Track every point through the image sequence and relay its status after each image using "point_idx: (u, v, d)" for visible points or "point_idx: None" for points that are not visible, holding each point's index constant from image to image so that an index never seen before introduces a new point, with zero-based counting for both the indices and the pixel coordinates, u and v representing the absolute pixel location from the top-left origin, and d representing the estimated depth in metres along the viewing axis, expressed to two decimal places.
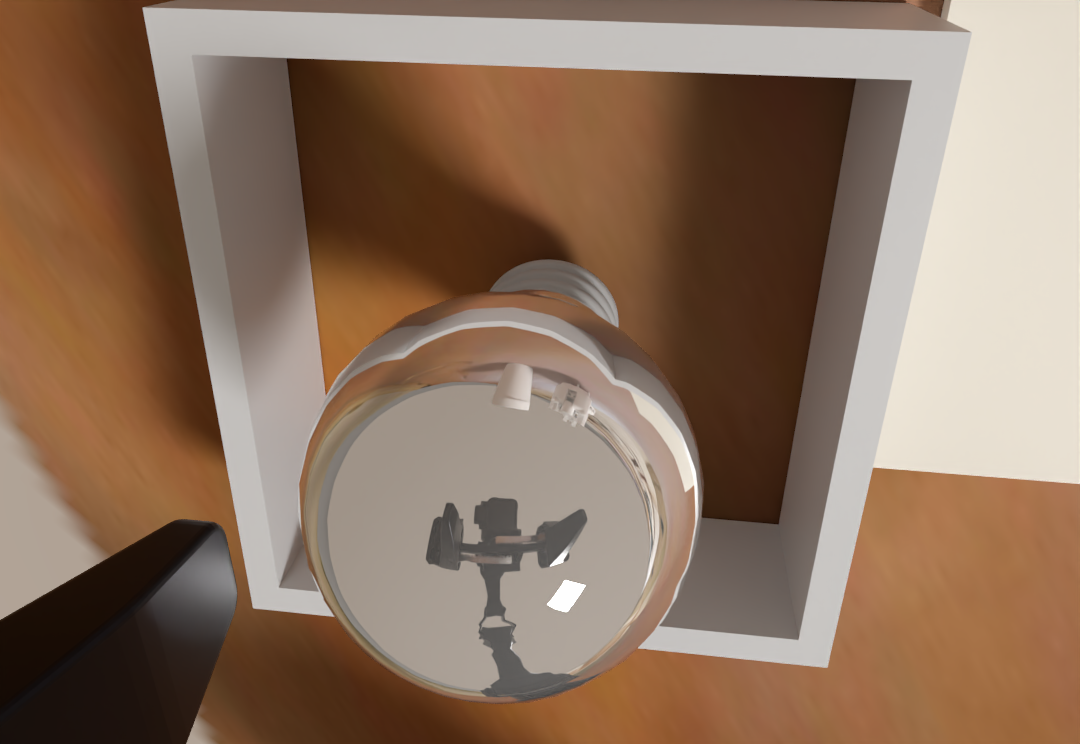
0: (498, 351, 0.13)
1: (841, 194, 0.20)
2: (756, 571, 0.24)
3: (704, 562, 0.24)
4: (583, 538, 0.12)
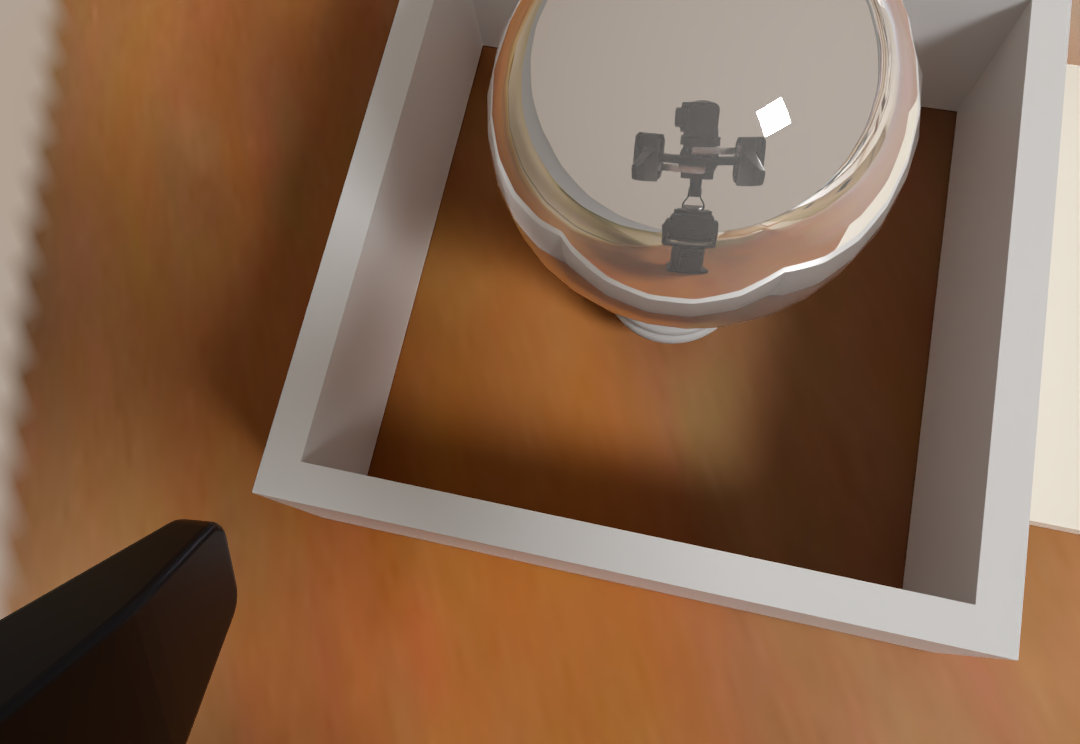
0: None
1: (952, 211, 0.22)
2: None
3: None
4: None
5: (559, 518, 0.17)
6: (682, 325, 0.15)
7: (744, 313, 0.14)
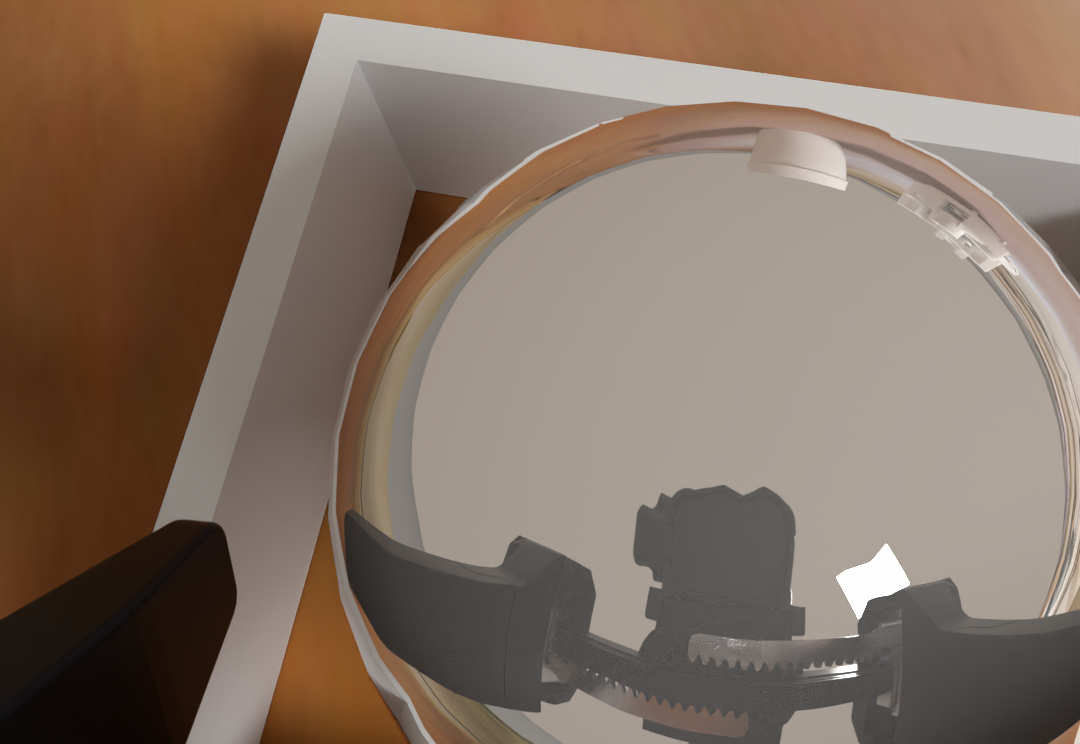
0: None
1: None
2: None
3: None
4: (1027, 269, 0.06)
5: None
6: None
7: None
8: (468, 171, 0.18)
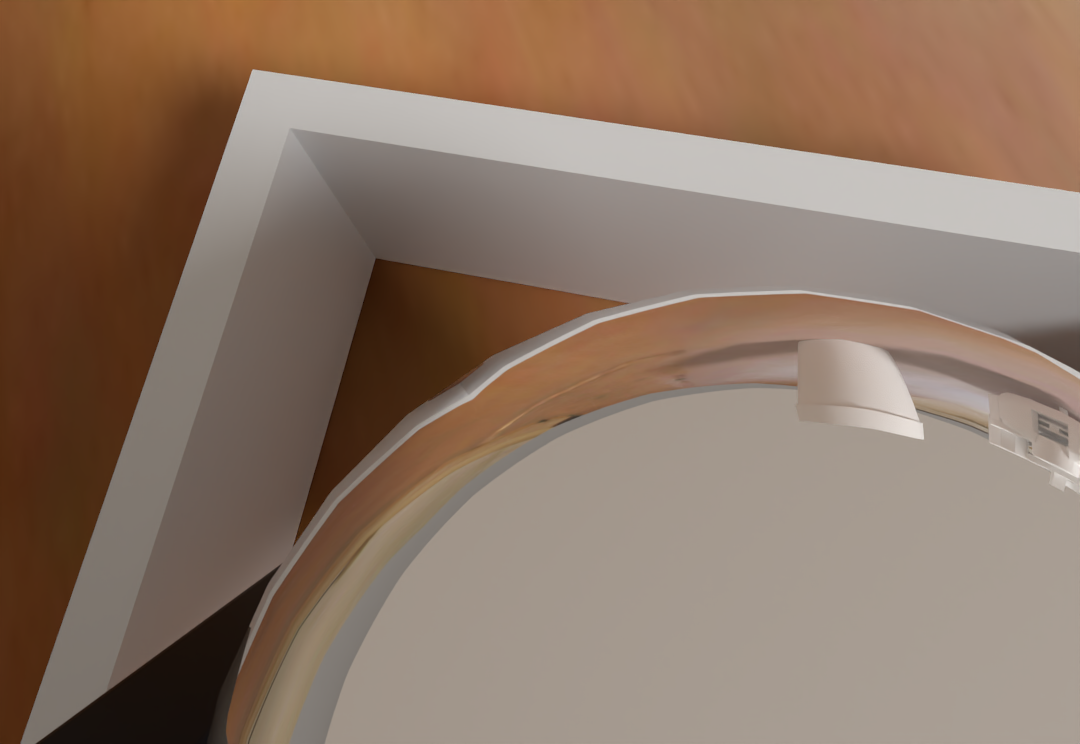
0: None
1: None
2: None
3: None
4: None
5: None
6: None
7: None
8: (433, 243, 0.15)
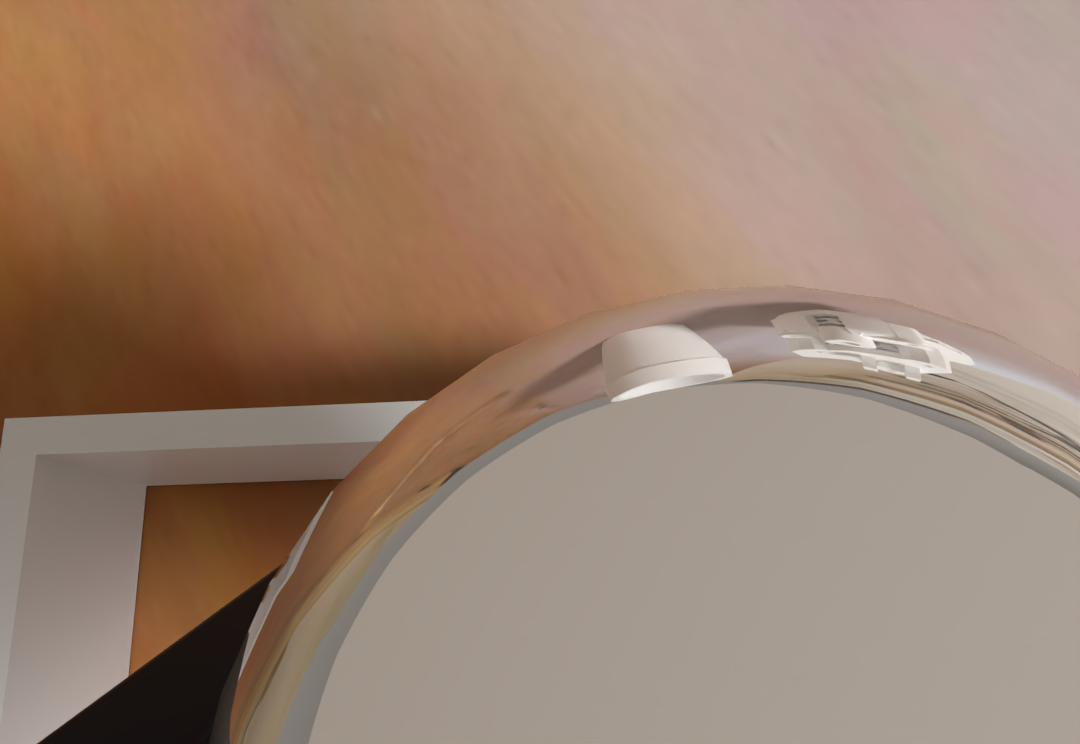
0: None
1: None
2: None
3: None
4: None
5: None
6: None
7: None
8: (175, 476, 0.22)
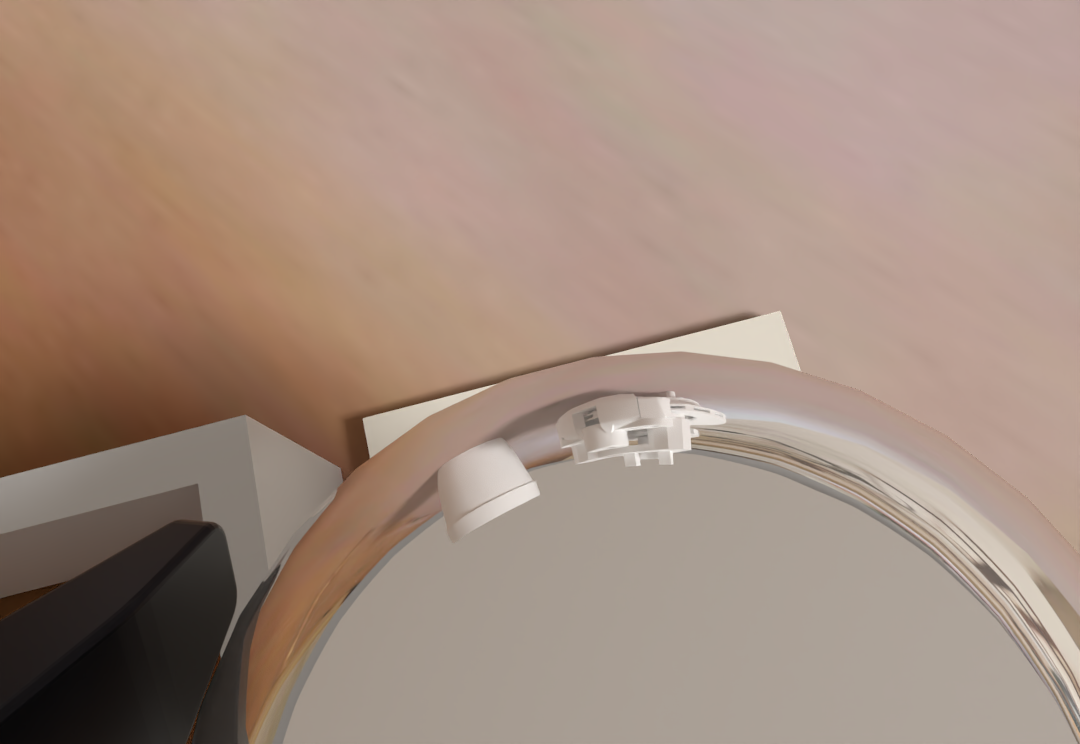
0: None
1: None
2: None
3: None
4: (1077, 694, 0.04)
5: None
6: None
7: None
8: None
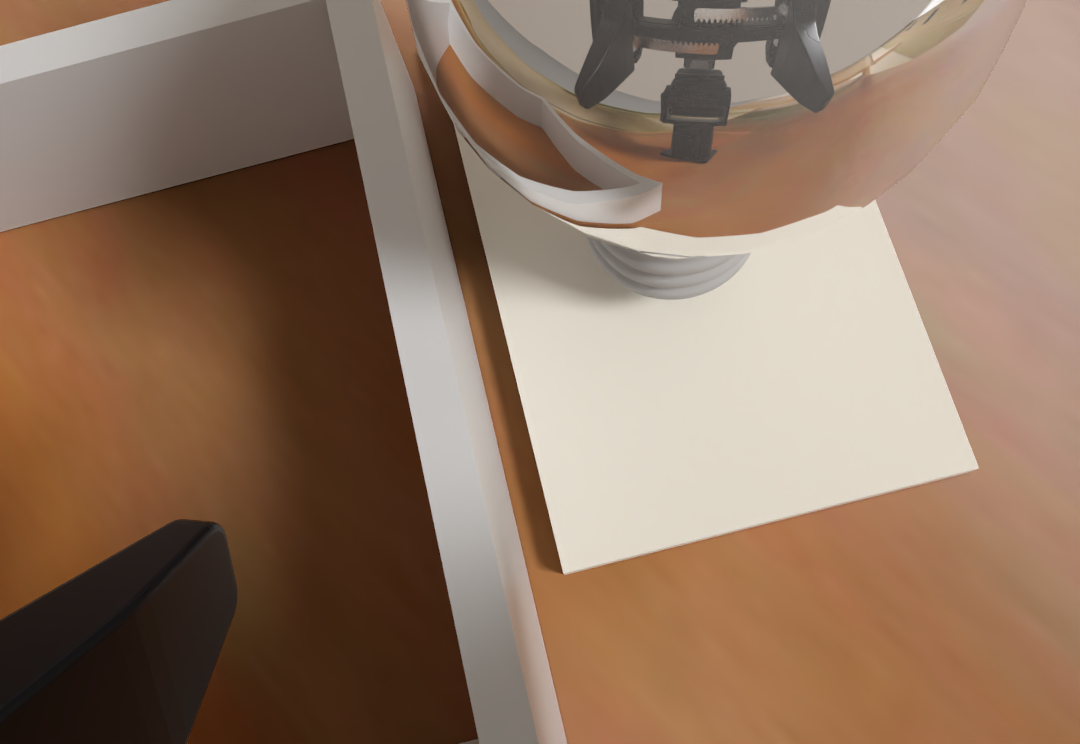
0: None
1: None
2: None
3: None
4: None
5: None
6: (687, 247, 0.10)
7: (779, 223, 0.09)
8: None
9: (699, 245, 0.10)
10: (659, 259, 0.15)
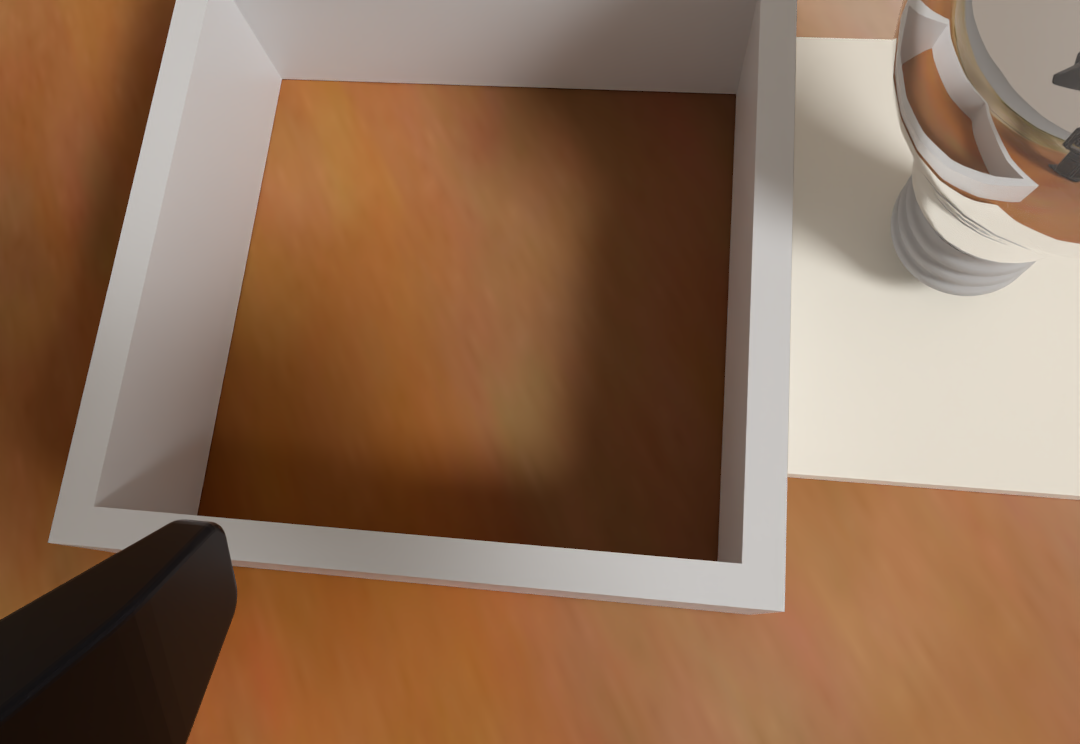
0: None
1: (734, 190, 0.23)
2: None
3: None
4: None
5: (346, 530, 0.18)
6: (1049, 238, 0.14)
7: None
8: (313, 54, 0.25)
9: (1059, 240, 0.14)
10: (957, 255, 0.19)
